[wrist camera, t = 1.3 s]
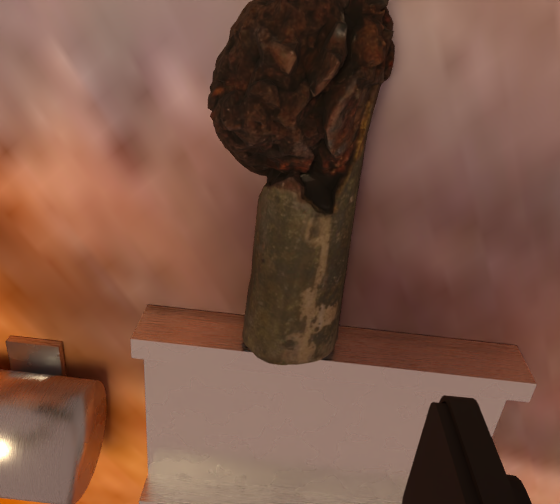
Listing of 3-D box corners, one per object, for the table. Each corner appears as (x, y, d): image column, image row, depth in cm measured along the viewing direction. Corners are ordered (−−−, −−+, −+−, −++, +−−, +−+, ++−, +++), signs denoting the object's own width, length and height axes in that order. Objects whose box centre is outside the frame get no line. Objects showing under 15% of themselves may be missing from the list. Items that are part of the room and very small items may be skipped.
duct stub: (105, 346, 31) (53, 441, 25) (112, 433, 34) (68, 536, 28) (-34, 330, 31) (-120, 421, 25) (-13, 419, 34) (-84, 518, 28)
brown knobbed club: (336, 318, 29) (338, 391, 24) (212, 302, 29) (189, 372, 24) (406, -57, 21) (432, -62, 16) (232, -77, 21) (202, -89, 16)
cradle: (516, 345, 29) (537, 384, 26) (455, 507, 35) (466, 551, 33) (147, 304, 29) (130, 338, 26) (152, 472, 35) (139, 513, 33)
